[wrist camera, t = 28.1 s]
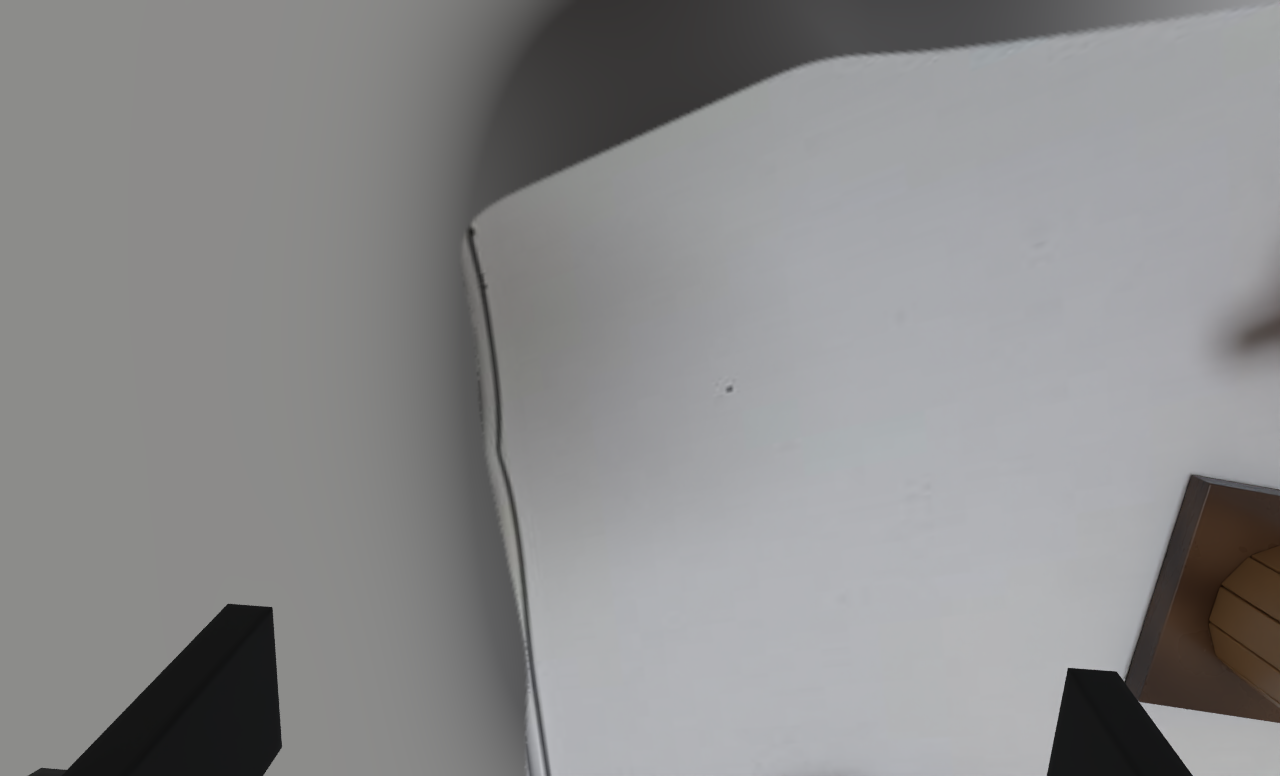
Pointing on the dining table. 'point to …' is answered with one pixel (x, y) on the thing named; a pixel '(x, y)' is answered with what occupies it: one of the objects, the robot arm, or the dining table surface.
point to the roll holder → (1203, 601)
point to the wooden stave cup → (1251, 623)
